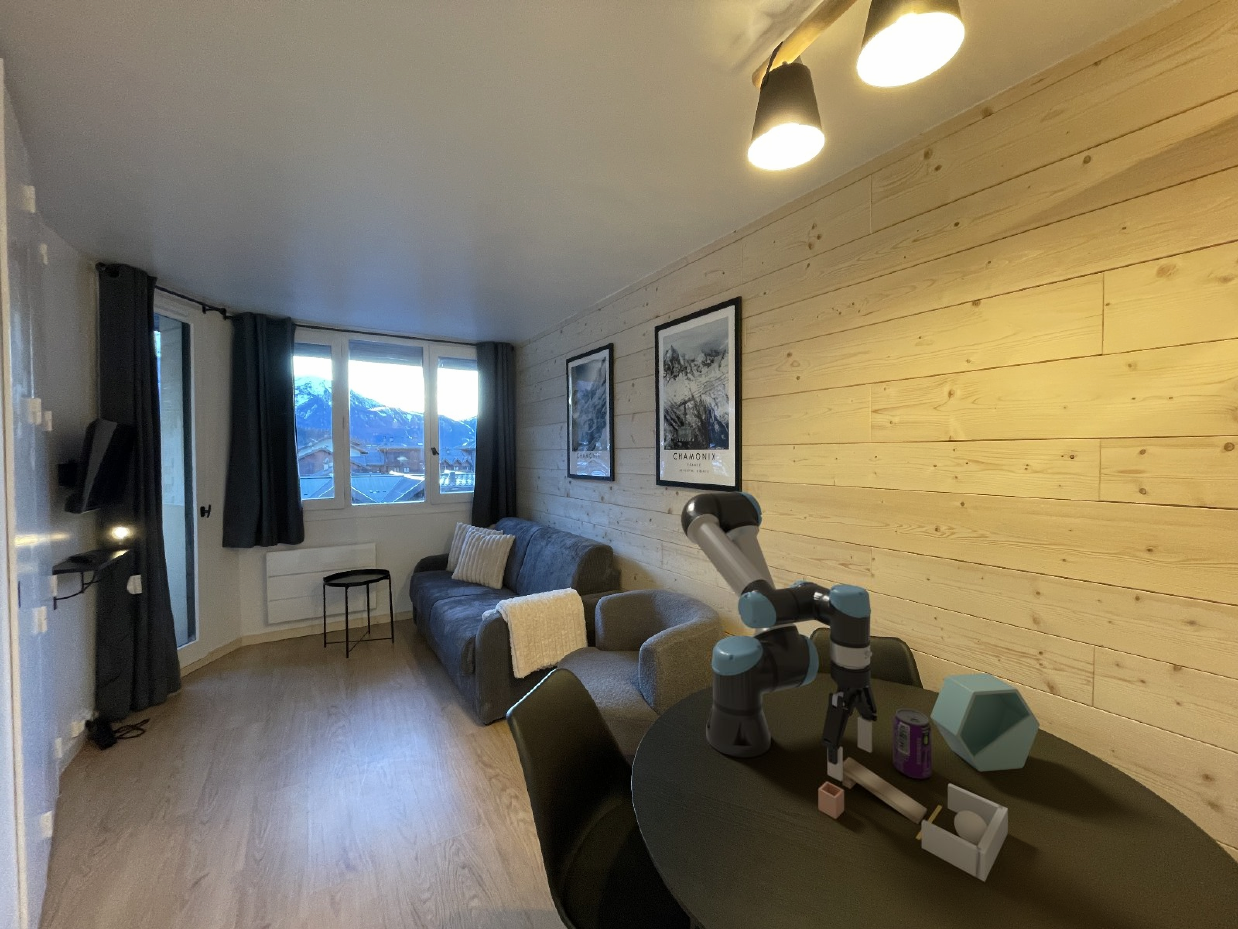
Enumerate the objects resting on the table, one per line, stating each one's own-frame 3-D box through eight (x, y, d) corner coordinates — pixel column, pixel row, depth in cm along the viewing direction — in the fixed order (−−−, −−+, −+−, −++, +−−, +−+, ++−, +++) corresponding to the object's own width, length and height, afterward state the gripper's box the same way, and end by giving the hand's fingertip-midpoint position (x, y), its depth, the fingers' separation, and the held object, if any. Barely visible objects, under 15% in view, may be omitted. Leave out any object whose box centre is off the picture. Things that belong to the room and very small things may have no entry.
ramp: (839, 784, 101) (839, 764, 101) (848, 776, 104) (848, 756, 104) (919, 825, 90) (919, 803, 90) (927, 815, 92) (926, 793, 92)
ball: (945, 817, 86) (958, 849, 85) (977, 821, 83) (991, 854, 82) (953, 803, 90) (965, 834, 88) (984, 806, 86) (997, 838, 85)
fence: (921, 847, 85) (921, 822, 85) (949, 806, 94) (949, 783, 94) (984, 882, 78) (984, 854, 78) (1007, 833, 88) (1007, 808, 87)
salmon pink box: (818, 809, 94) (818, 789, 94) (827, 801, 96) (826, 781, 96) (835, 819, 91) (835, 798, 91) (844, 810, 94) (844, 790, 94)
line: (915, 838, 87) (915, 837, 87) (938, 805, 94) (938, 805, 94) (919, 840, 86) (919, 839, 86) (942, 807, 94) (942, 806, 94)
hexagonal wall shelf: (992, 791, 104) (943, 716, 103) (963, 768, 112) (917, 697, 111) (1053, 744, 105) (1005, 669, 104) (1020, 724, 113) (975, 653, 112)
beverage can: (937, 783, 101) (937, 726, 100) (900, 779, 102) (899, 723, 102) (923, 762, 108) (923, 708, 107) (888, 758, 109) (888, 706, 109)
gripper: (839, 688, 90) (840, 801, 90) (893, 650, 106) (893, 746, 107) (801, 674, 96) (802, 780, 96) (858, 640, 112) (858, 731, 112)
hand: (850, 762), depth 101 cm, fingers open, 13 cm apart
